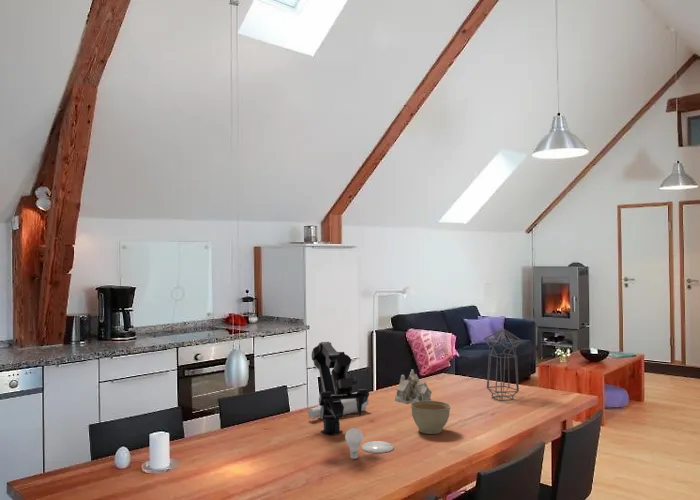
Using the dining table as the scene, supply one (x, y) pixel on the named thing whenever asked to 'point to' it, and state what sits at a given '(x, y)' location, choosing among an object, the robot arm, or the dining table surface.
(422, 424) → the planter bowl
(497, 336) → the geometric lantern
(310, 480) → the dining table surface
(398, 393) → the ceramic cottage
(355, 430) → the lightbulb
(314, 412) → the bottle
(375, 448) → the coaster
